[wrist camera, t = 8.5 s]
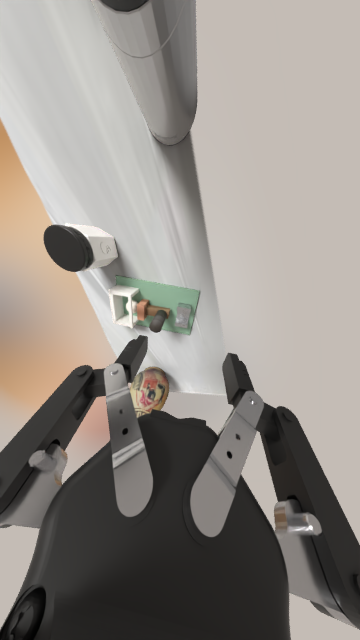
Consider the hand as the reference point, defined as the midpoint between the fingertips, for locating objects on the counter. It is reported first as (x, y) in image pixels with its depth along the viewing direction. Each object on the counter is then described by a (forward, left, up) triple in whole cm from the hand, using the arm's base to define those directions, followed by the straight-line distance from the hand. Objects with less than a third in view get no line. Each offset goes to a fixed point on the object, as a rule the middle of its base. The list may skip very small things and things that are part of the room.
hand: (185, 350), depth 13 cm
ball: (+11, -17, -26) cm, 33 cm away
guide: (+11, -2, -28) cm, 30 cm away
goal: (+11, -19, -28) cm, 35 cm away
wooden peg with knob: (+11, -10, -27) cm, 31 cm away
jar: (-4, -26, -28) cm, 39 cm away
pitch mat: (+11, -10, -28) cm, 32 cm away
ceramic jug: (+44, -10, -28) cm, 53 cm away
